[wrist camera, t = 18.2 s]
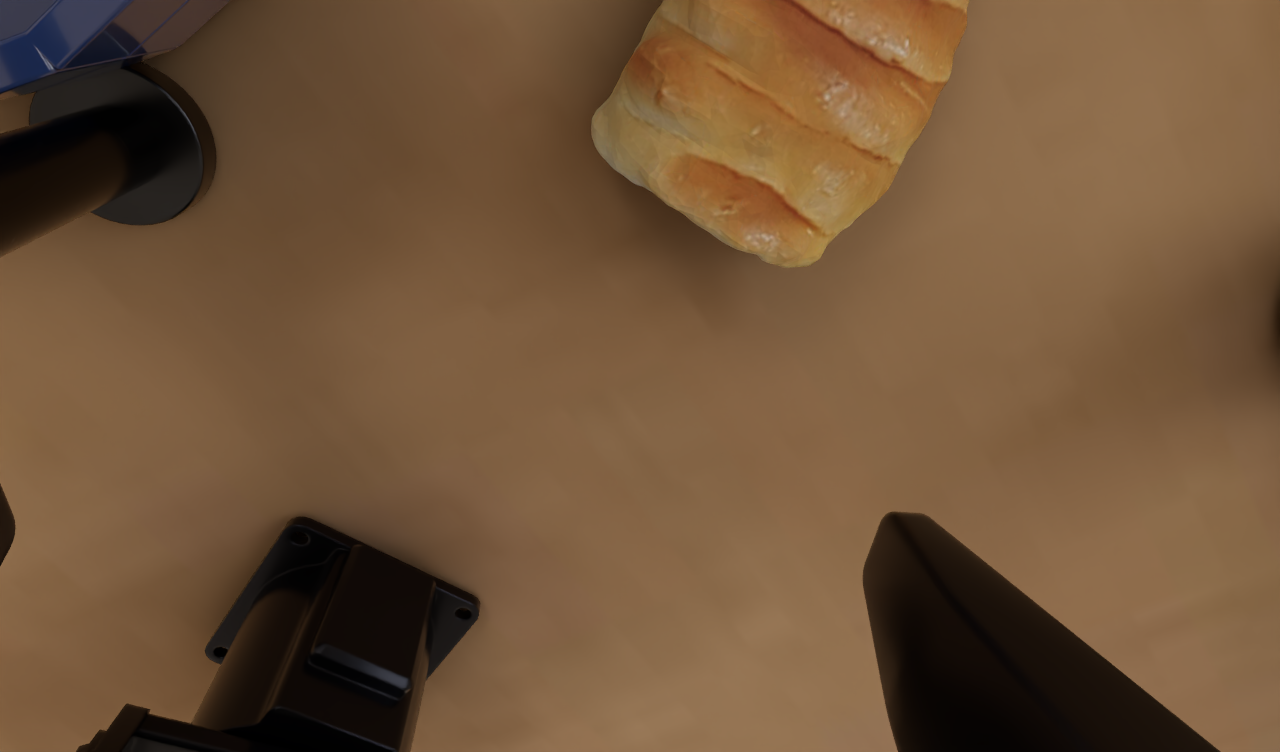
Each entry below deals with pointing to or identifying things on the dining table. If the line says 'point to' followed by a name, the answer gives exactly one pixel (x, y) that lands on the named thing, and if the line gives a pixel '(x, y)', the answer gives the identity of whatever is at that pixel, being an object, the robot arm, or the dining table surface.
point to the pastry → (777, 112)
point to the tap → (104, 155)
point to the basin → (88, 37)
